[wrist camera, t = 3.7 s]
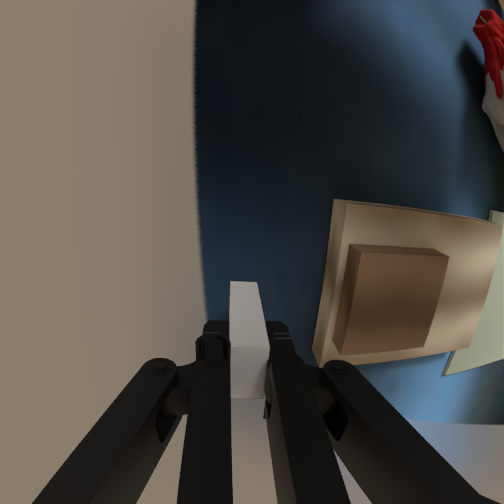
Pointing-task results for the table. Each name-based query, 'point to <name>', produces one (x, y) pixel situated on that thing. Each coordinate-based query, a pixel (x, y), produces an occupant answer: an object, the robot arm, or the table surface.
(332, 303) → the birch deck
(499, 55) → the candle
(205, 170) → the table surface
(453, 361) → the sage mat
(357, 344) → the walnut tile
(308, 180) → the table surface
